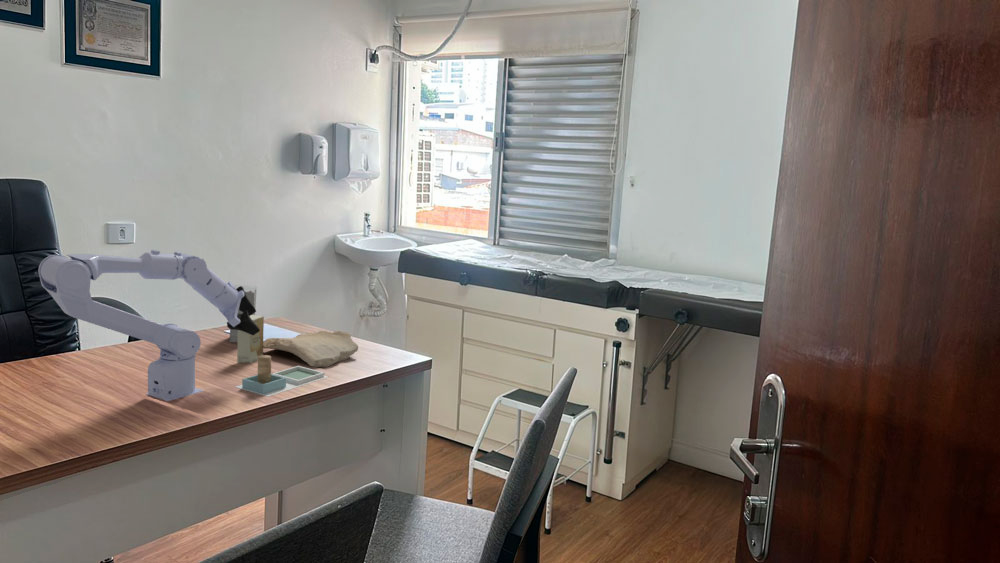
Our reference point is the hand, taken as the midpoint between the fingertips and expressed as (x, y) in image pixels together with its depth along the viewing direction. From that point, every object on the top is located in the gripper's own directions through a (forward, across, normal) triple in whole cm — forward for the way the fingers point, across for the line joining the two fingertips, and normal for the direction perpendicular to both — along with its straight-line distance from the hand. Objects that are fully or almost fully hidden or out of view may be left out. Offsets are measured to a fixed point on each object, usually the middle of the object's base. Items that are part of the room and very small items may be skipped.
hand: (254, 322), depth 176 cm
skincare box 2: (+15, +7, +12) cm, 20 cm away
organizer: (+11, -12, +2) cm, 17 cm away
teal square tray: (+7, -16, +5) cm, 18 cm away
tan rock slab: (+27, +9, +1) cm, 28 cm away
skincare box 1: (+22, +28, +19) cm, 40 cm away
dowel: (+6, -15, +4) cm, 17 cm away
